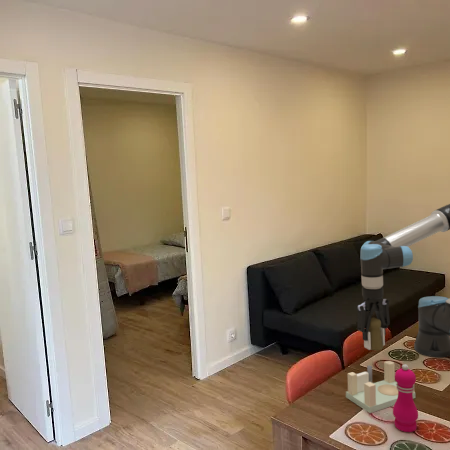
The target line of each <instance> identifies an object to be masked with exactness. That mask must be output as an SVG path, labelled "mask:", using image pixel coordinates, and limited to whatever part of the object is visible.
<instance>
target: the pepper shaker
mask: <svg viewBox="0 0 450 450" xmlns="http://www.w3.org/2000/svg"><path fill="white" fill-rule="evenodd" d="M380 327H381V321H380V320H379V319H378V318H377V317H371V321H370V326H369V331H368V332H370V338H371V349H370V350H369V351H381V350H383V349H384V346H383V344H382V338H381V332H380Z"/></svg>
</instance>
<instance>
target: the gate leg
mask: <svg viewBox="0 0 450 450" xmlns="http://www.w3.org/2000/svg"><path fill="white" fill-rule="evenodd" d="M368 382H369V373H367V371H362V372H359V373H355V372H353V371H352V372H348V373H347V391H348V393H349V394H351V395H355V394H357V393H359V392H362V391H364V383H368Z"/></svg>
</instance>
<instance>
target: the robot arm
mask: <svg viewBox="0 0 450 450" xmlns="http://www.w3.org/2000/svg"><path fill="white" fill-rule="evenodd" d="M448 231H450V203H448V204H446V205H444V206H442V207H439V208H437V209H435V210H433V211H432V212H431V213H430V215H428V216H427V217H424V218H422V219H419V220H418V221H415V222H413V223H412V224H409V225H407V226H405V227H402V228H401V229H399V230H397V231H394V232H392V233H390V234H388V235H386V236H384V237H382V238H379V239H377V240H375V241H374V240H367V241H365V242H364V243H363V244H362V246H361V248H360V258H359V259H360V267H361V268H360V270H361V271H360V272H361V275H360V277H361V296H362V298H363V300H362V303H361V304H357V305H356V310H357V331H359V332H361V333H362V340H363V346H364V347H363V348H365V349H367V350H368V351H371V350H370V349H371V338H370V332H368V331H369V326H370V321H371V318H372V316H373V315H374V313H375V315H376V318H378V319H379V320H380V321H381V327H380V332H381V338H382V344H383V347H384V346H385V345H386V340H385V339H386V338H385V336H386V335H387V334H386V329H388V328H389V326H390V324H391V322H390V320H391V319H390V307H389V305H390V300H389V299H387V298H383V297H384V287H383V286H384V275H383V274H384V271H383V270H387V269H395V268H403V267H407V266H409V265H411V264H412V263H413V262H414V255H413V251H412V249H411V248H410V246H413V245H414V244H415V245H416V244H417V243H419V242H421V241H423V240H425V239H427V238H429V237H431V236H433V235H435V234H438V233H441V232H442V233H446V232H448ZM417 308H418V309H417V310H418V311H417V312H418V332H417V335H416V337H415V341H414V344H413V347H414V348H413V349H414V350H415V352H417V353H418V354H421V355H423V356H427V357H432V358H434V357H435V358H447V357H449V356H450V297H449V298H448V297H446V296H441V295H440V296H439V295H438V296H435V295H432V296H424V297H421V298H420V299H419V300H418V305H417Z"/></svg>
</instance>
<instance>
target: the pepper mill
mask: <svg viewBox="0 0 450 450" xmlns="http://www.w3.org/2000/svg"><path fill="white" fill-rule="evenodd" d="M395 382H397V384H396V385H397V387H396V388H397V390H398V398H397V400H396V402H395V404H394V405H393V406H392V407H393V408H392V415H393V416H394V426H395V428H396V430H399V431H401V432H405V433H412V432H415V431H416V430H417V423H418V422H417V420H418V419H419V411H418V408H417V406H416V403H415V401H414V399H413V395H412V394H413V391H414V392H415V384H416V382H417V377H416V374H415V372H414V371H413V370H411V369H409V366H408V364H402V366H401V368H399V369H397V370H396V371H395Z"/></svg>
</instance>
